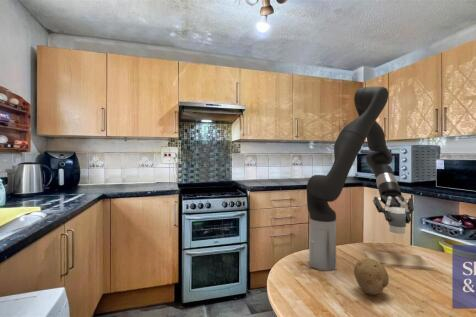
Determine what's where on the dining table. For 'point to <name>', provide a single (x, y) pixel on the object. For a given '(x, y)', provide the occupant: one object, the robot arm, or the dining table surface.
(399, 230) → the grey banded cylinder
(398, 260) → the oak board
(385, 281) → the natural sponge
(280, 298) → the dining table surface
